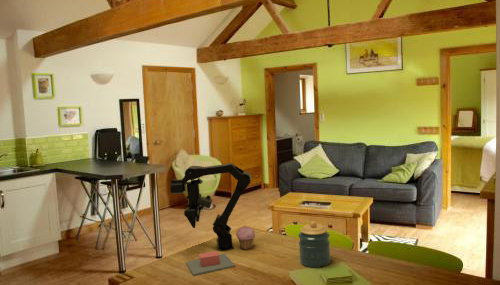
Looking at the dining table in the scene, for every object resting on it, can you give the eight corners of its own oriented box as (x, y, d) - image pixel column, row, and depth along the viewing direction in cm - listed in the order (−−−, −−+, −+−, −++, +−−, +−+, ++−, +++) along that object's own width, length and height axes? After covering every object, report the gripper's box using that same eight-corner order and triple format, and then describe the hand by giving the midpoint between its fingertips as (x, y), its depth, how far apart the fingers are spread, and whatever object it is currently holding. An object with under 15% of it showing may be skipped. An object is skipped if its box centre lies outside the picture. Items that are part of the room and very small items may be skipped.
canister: (330, 268, 166) (328, 226, 164) (298, 267, 169) (296, 226, 167) (330, 255, 179) (329, 216, 177) (301, 255, 181) (299, 216, 179)
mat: (225, 255, 187) (225, 253, 187) (234, 266, 174) (234, 265, 174) (186, 263, 181) (186, 261, 180) (193, 275, 168) (193, 274, 167)
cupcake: (234, 246, 197) (233, 226, 196) (250, 242, 200) (249, 223, 199) (242, 252, 189) (240, 231, 188) (258, 248, 192) (257, 228, 191)
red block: (200, 262, 179) (199, 253, 178) (218, 259, 180) (217, 251, 180) (201, 267, 174) (200, 258, 173) (220, 264, 175) (219, 255, 175)
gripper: (206, 197, 184) (209, 230, 186) (213, 187, 203) (215, 218, 204) (182, 198, 185) (185, 231, 187) (191, 188, 203) (193, 219, 205)
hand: (196, 224), depth 196 cm, fingers open, 9 cm apart
